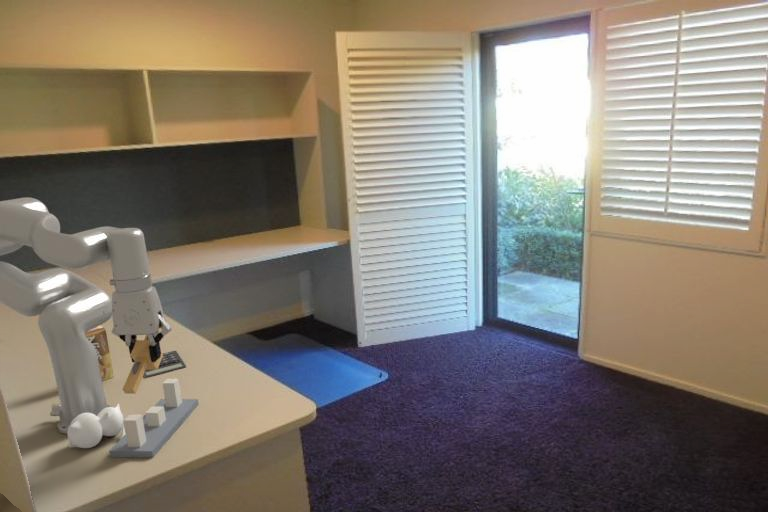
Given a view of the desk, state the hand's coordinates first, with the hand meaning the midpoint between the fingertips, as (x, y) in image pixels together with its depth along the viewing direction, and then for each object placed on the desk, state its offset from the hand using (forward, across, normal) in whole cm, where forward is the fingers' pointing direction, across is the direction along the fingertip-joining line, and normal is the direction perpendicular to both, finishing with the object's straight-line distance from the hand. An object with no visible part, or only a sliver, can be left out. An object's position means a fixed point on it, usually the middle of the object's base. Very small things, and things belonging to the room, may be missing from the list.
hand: (146, 359), depth 128 cm
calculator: (+18, -18, +36) cm, 44 cm away
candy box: (+18, -32, +25) cm, 45 cm away
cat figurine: (+18, -11, -6) cm, 22 cm away
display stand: (+18, 0, 0) cm, 18 cm away
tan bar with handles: (+2, 0, +2) cm, 3 cm away
